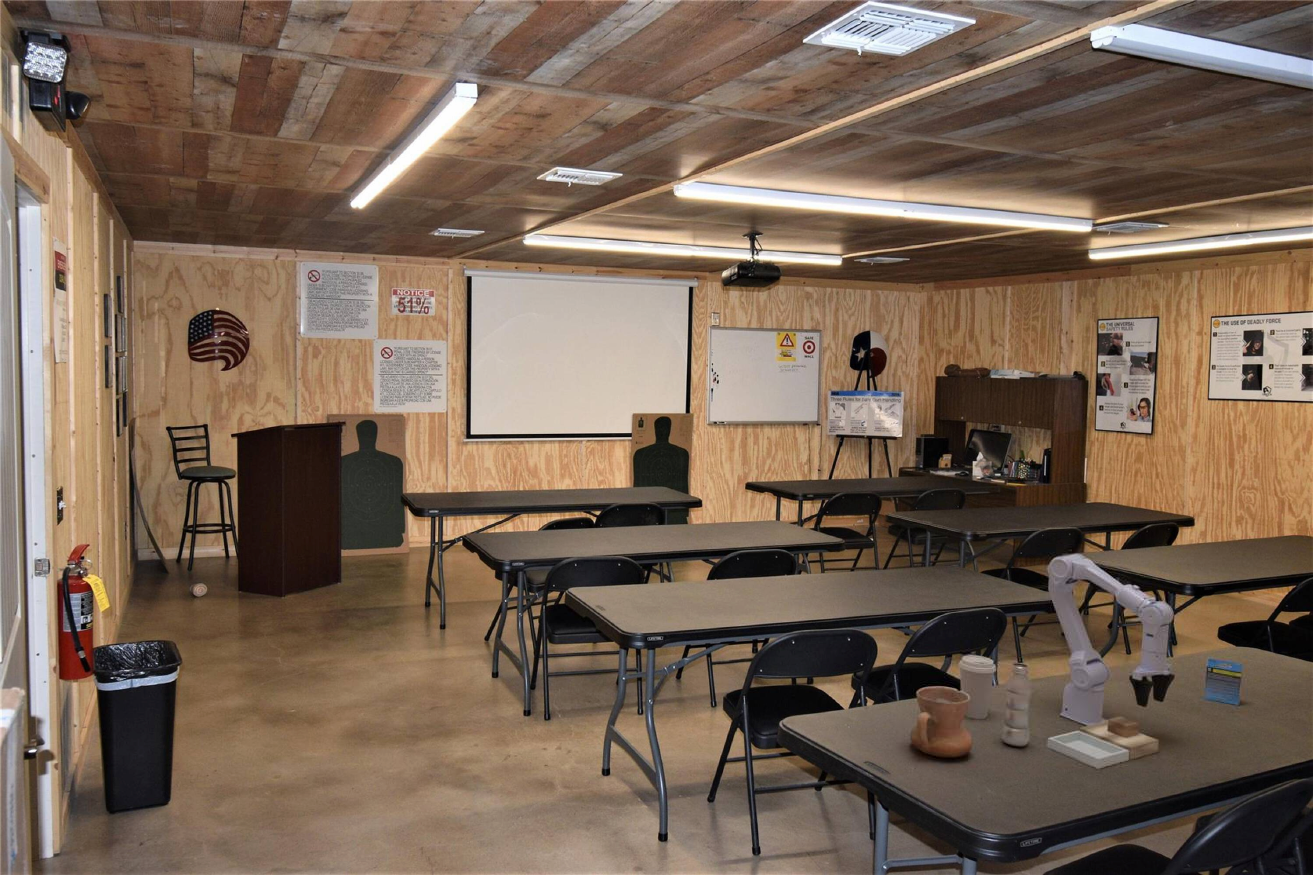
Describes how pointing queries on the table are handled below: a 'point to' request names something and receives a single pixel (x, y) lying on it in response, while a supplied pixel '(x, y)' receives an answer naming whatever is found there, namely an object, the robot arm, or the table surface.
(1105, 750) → the box
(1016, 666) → the plastic bottle
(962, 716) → the ceramic jug
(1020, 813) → the table surface
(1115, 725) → the brown block
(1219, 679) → the label tape box
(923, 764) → the table surface
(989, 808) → the table surface
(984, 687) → the coffee cup
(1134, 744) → the tan wooden flat block
